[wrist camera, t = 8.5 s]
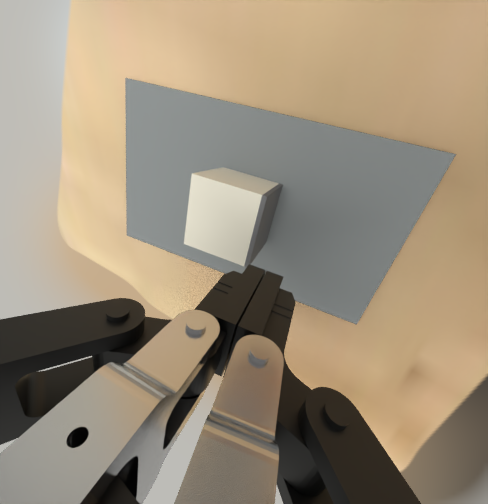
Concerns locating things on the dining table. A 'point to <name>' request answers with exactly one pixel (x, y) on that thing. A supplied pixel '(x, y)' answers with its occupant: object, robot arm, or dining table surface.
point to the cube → (230, 214)
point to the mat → (292, 194)
